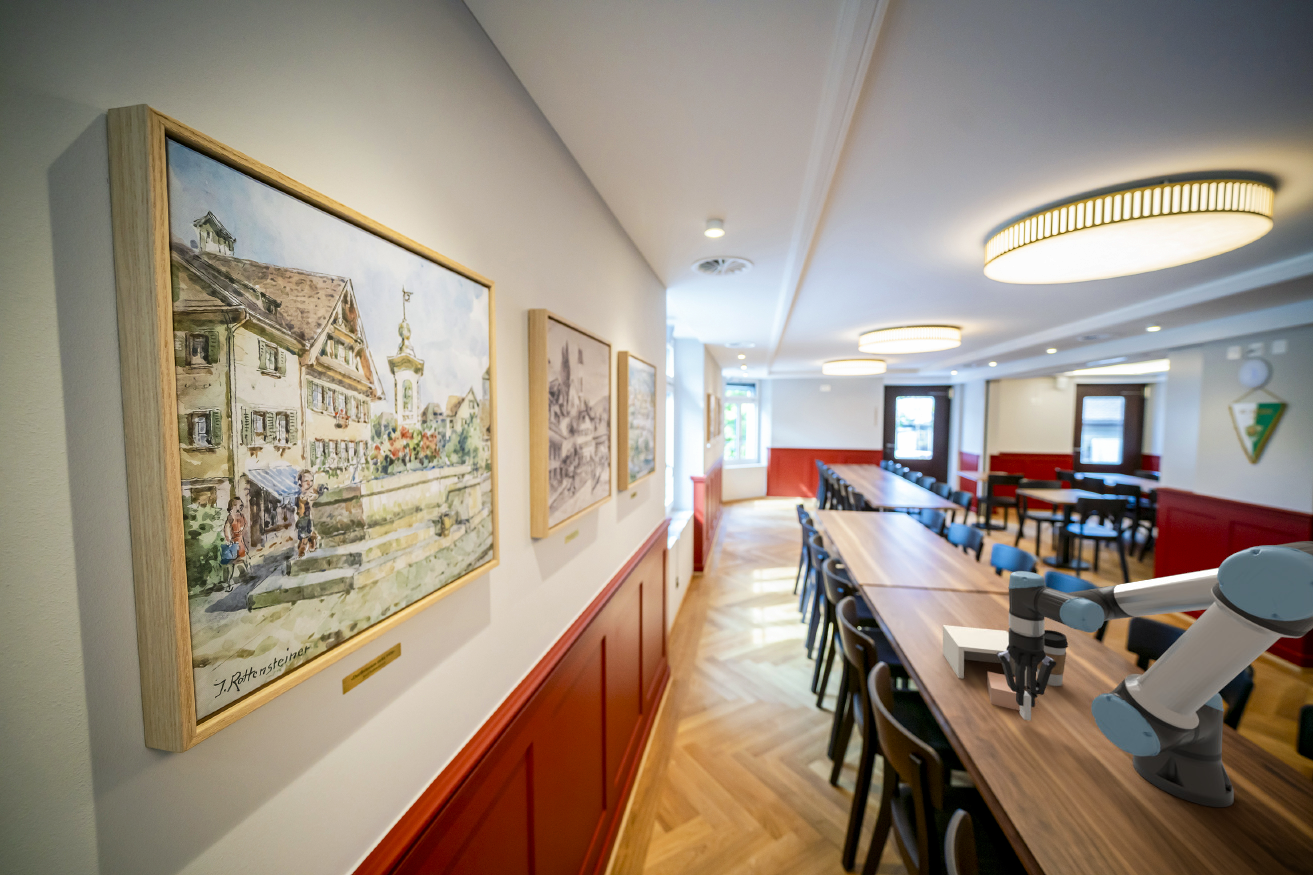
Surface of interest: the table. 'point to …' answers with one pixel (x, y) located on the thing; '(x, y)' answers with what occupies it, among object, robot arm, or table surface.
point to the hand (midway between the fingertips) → (1025, 716)
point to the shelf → (974, 646)
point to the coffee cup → (1055, 655)
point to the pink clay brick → (1001, 691)
